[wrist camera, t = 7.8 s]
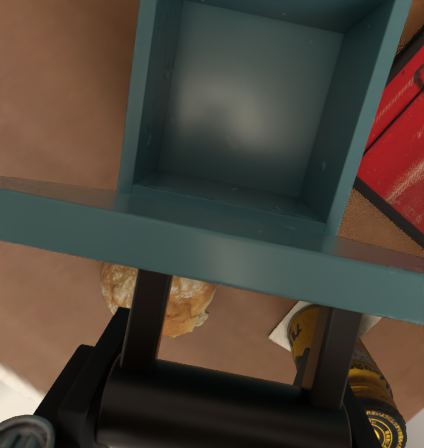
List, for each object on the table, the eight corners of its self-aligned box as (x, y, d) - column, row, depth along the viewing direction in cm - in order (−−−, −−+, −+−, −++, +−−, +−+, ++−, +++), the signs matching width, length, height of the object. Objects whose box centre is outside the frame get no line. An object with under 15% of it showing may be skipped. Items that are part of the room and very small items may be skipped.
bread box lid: (-177, 152, 5) (-219, 470, 5) (718, 333, 5) (629, 627, 5) (115, 190, 20) (100, 271, 20) (339, 236, 20) (321, 315, 21)
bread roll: (205, 216, 33) (186, 199, 26) (234, 318, 32) (223, 333, 24) (115, 244, 35) (70, 237, 27) (138, 345, 33) (97, 367, 25)
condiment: (267, 336, 33) (290, 449, 21) (322, 271, 31) (380, 357, 19) (325, 372, 34) (377, 499, 22) (383, 312, 32) (473, 417, 20)
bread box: (175, -12, 25) (149, -85, 16) (355, 26, 25) (421, -26, 17) (148, 175, 29) (116, 195, 20) (303, 207, 29) (335, 240, 21)
